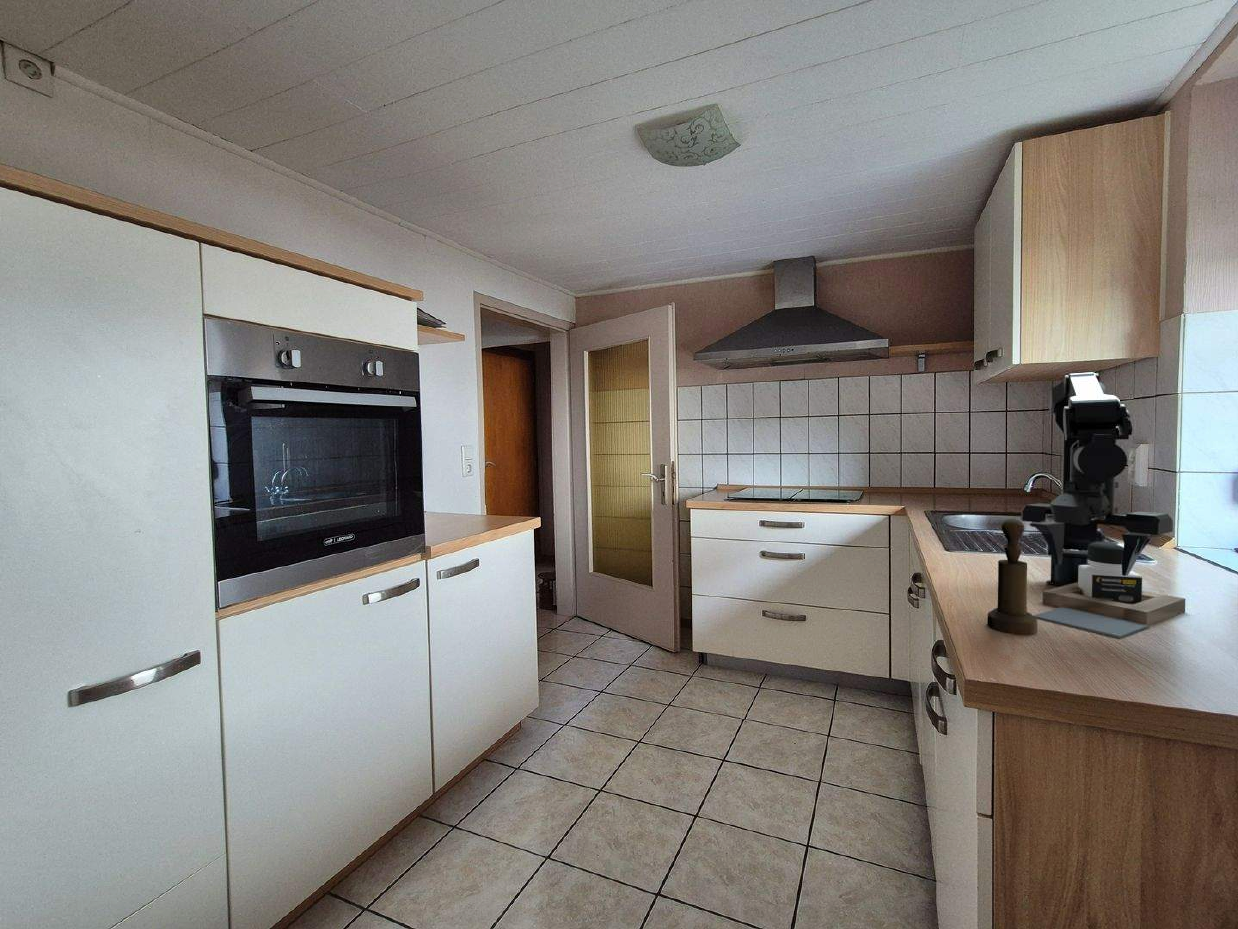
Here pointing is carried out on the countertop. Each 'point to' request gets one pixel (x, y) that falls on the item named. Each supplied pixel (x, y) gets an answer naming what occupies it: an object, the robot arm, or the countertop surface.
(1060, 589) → the brown flat square frame
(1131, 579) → the medicine bottle
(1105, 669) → the countertop surface
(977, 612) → the countertop surface
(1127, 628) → the mat
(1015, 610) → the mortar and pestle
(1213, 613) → the countertop surface
